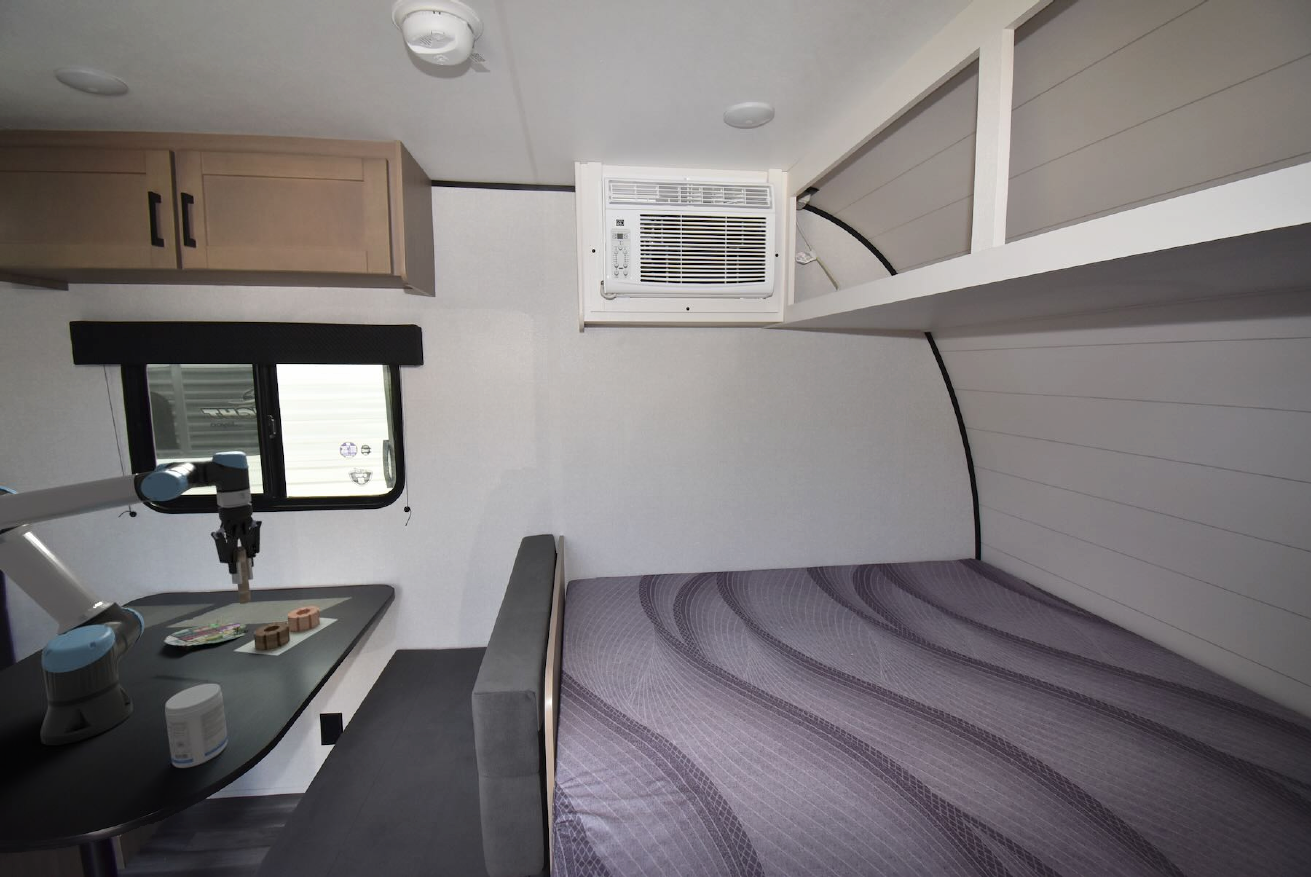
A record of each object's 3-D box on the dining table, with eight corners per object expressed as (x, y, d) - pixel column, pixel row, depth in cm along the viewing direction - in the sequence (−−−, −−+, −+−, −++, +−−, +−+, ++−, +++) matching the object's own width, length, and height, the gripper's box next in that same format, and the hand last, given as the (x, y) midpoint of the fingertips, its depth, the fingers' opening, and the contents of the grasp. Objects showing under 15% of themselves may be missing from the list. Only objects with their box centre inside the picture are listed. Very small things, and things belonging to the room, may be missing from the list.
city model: (278, 629, 176) (278, 612, 176) (212, 657, 152) (213, 637, 152) (215, 626, 178) (215, 609, 178) (141, 653, 155) (141, 634, 155)
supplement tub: (225, 733, 120) (219, 677, 118) (230, 753, 114) (224, 694, 112) (169, 755, 113) (163, 695, 111) (172, 777, 107) (165, 714, 105)
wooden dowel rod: (244, 604, 145) (238, 548, 143) (237, 603, 146) (231, 547, 144) (253, 600, 148) (247, 545, 146) (245, 599, 148) (240, 544, 146)
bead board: (277, 659, 152) (277, 655, 152) (233, 654, 155) (233, 650, 155) (338, 622, 176) (338, 619, 176) (299, 618, 178) (299, 615, 178)
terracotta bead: (304, 632, 166) (303, 618, 166) (282, 630, 167) (281, 616, 167) (325, 620, 175) (324, 607, 174) (304, 618, 176) (303, 605, 176)
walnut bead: (272, 651, 154) (271, 636, 154) (248, 649, 156) (246, 634, 155) (296, 637, 163) (295, 623, 162) (273, 635, 164) (272, 621, 164)
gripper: (217, 511, 135) (226, 593, 138) (270, 498, 150) (277, 572, 153) (195, 510, 136) (204, 591, 139) (250, 497, 152) (257, 570, 154)
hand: (242, 581), depth 146 cm, fingers closed on wooden dowel rod, 2 cm apart
